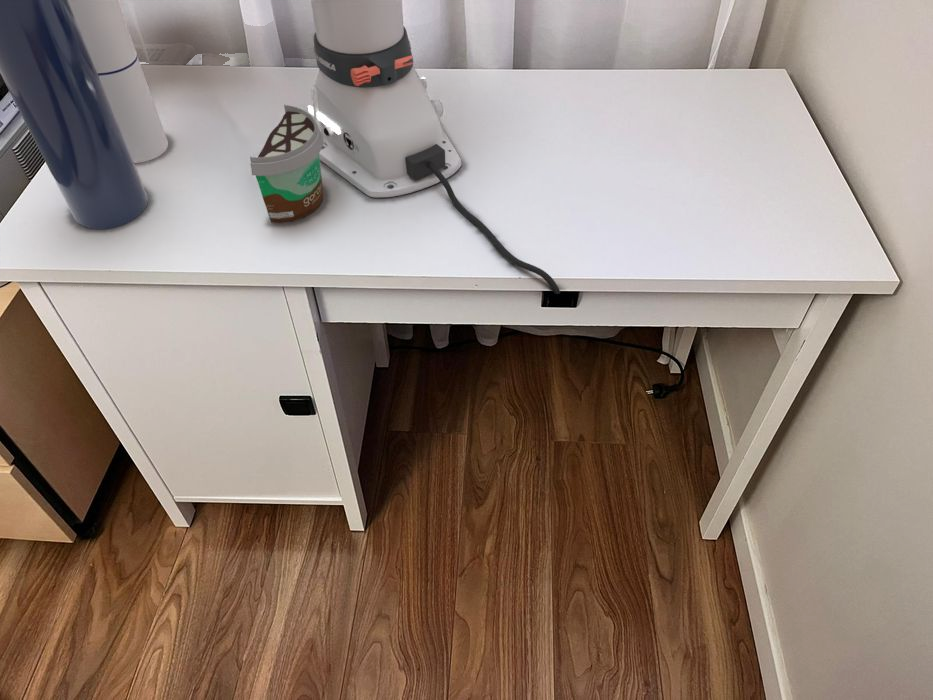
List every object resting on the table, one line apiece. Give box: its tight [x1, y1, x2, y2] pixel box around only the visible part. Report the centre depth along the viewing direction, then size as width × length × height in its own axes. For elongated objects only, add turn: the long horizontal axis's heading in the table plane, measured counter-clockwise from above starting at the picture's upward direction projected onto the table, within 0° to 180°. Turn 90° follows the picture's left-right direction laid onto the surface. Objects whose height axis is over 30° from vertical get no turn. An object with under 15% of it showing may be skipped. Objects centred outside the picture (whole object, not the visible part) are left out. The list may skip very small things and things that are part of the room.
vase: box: [0, 0, 149, 230], centre depth 79 cm, size 9×9×36 cm
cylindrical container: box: [68, 0, 169, 164], centre depth 91 cm, size 7×7×25 cm
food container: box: [249, 104, 324, 224], centre depth 89 cm, size 12×6×10 cm, turn 170°
